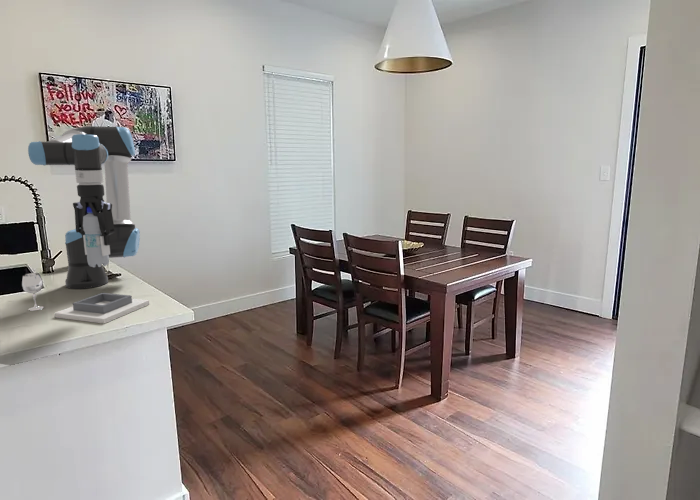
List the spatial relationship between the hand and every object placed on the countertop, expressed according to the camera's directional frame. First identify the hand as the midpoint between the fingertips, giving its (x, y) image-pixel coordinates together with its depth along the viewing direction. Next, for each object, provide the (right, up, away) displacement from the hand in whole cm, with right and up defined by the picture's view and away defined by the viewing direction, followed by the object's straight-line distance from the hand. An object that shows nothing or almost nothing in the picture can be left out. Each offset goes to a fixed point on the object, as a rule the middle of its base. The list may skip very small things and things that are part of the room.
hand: (97, 254), depth 150 cm
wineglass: (-24, -19, +6) cm, 32 cm away
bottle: (0, -4, +1) cm, 4 cm away
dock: (0, -19, +4) cm, 20 cm away
